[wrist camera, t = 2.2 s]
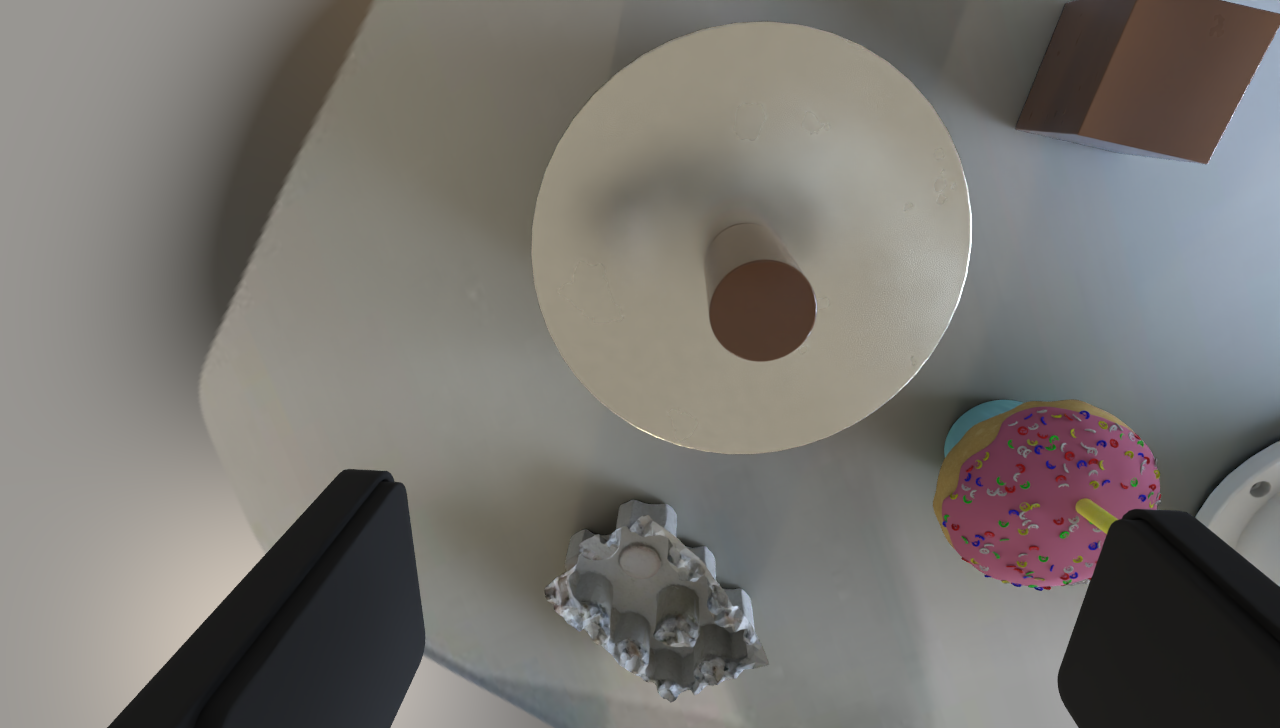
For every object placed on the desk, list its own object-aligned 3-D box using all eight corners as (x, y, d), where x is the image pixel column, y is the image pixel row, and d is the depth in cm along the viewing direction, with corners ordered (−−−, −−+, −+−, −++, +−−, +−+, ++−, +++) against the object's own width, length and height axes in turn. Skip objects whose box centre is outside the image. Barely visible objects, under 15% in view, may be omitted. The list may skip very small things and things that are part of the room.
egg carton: (548, 539, 36) (531, 591, 32) (664, 476, 34) (660, 523, 30) (658, 669, 38) (654, 730, 35) (770, 617, 36) (780, 676, 33)
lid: (1051, 190, 20) (1197, 225, 14) (786, 500, 25) (816, 619, 19) (682, -78, 18) (680, -160, 12) (470, 314, 23) (398, 386, 17)
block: (1183, 29, 25) (1286, 14, 20) (1124, 153, 26) (1208, 164, 22) (1065, 2, 25) (1144, -18, 20) (1014, 129, 26) (1077, 135, 22)
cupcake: (923, 358, 30) (1061, 508, 19) (1114, 366, 30) (1369, 525, 19) (892, 514, 33) (995, 720, 22) (1064, 523, 33) (1256, 739, 22)
